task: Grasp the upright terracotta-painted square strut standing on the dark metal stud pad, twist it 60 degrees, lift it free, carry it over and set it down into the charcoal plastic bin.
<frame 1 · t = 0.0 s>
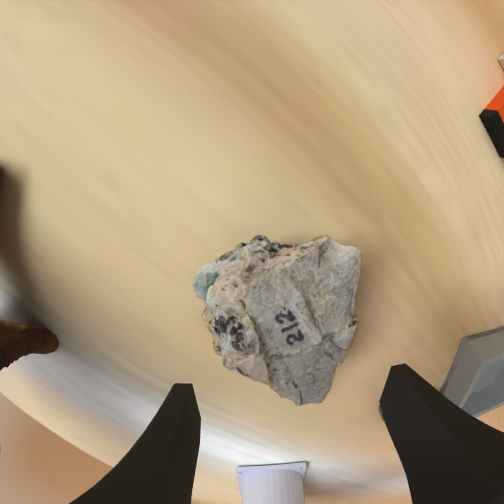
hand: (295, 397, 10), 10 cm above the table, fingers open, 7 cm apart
mineral specimen: (270, 287, 20), on the table
bin: (479, 365, 25), on the table
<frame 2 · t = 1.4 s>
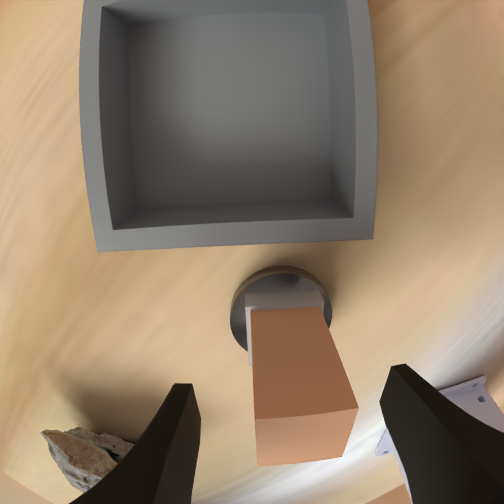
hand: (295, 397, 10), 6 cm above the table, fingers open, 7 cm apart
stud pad: (279, 310, 16), on the table
mineral specimen: (115, 436, 21), on the table
bin: (228, 104, 12), on the table
strut: (281, 321, 15), point 1 cm above the table, touching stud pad
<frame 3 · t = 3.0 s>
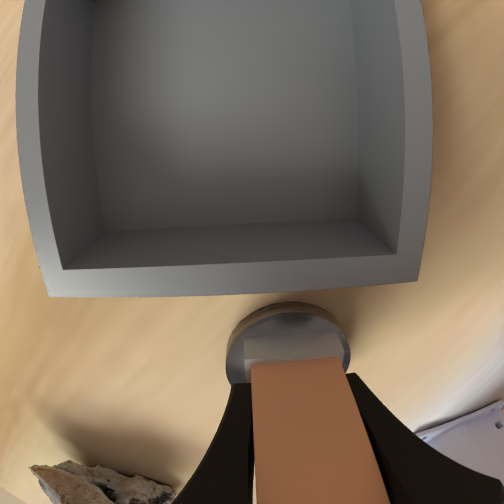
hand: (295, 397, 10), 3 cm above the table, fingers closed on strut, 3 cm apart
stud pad: (286, 352, 12), on the table
mineral specimen: (109, 468, 17), on the table
bin: (221, 92, 9), on the table
strut: (289, 368, 11), point 1 cm above the table, touching gripper, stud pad
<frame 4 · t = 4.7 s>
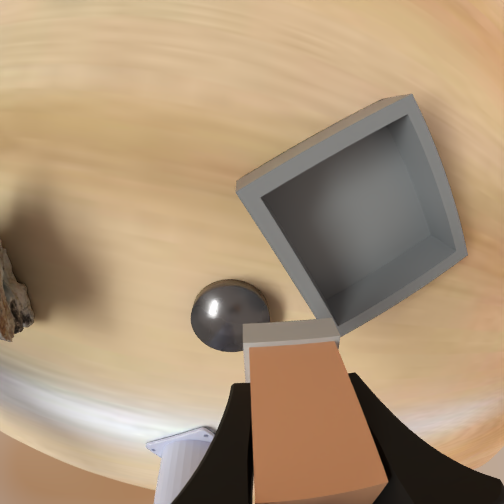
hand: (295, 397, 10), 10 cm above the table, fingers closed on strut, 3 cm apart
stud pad: (230, 313, 20), on the table
mineral specimen: (6, 258, 18), on the table
bin: (352, 209, 18), on the table
strut: (287, 355, 12), point 8 cm above the table, touching gripper
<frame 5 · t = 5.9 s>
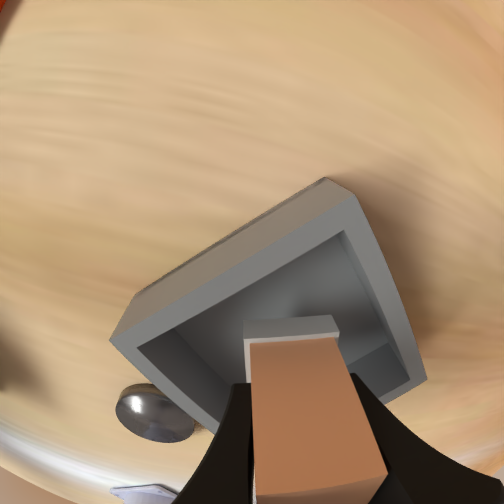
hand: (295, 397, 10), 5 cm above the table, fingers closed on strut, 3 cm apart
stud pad: (156, 410, 17), on the table
bin: (280, 322, 15), on the table
strut: (287, 352, 12), point 3 cm above the table, touching gripper
when the fingers open (4 cm above the table, at t = 6.7 s): strut drops 1 cm, resting on bin.
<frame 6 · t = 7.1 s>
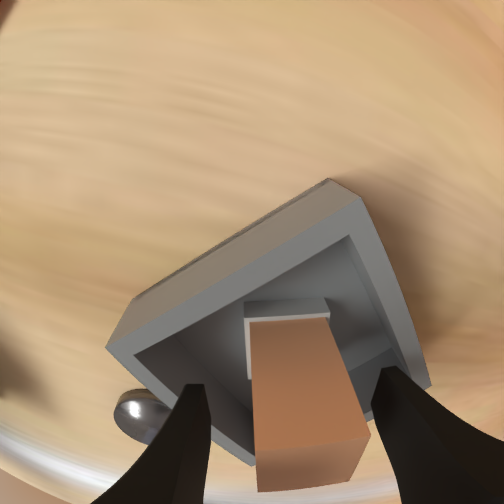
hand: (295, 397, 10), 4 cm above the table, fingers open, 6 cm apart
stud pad: (155, 415, 17), on the table
bin: (281, 327, 14), on the table
strut: (283, 332, 13), point 1 cm above the table, touching bin
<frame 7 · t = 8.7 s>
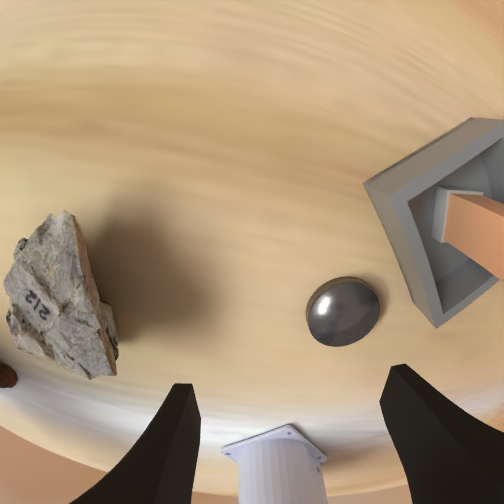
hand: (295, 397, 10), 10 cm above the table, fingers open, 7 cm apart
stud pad: (341, 309, 20), on the table
mineral specimen: (86, 274, 19), on the table
bin: (447, 212, 18), on the table
strut: (453, 211, 17), point 1 cm above the table, touching bin
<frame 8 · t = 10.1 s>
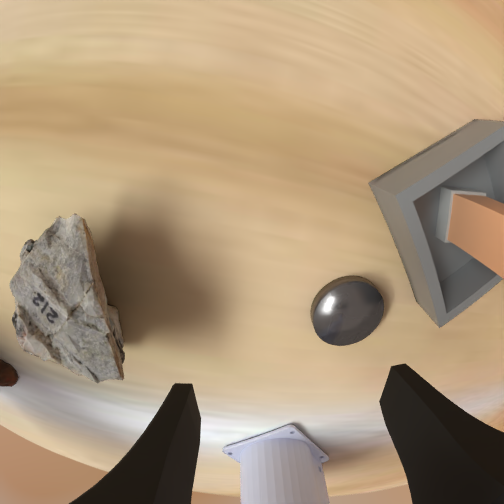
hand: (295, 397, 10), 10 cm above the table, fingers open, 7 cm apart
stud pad: (345, 308, 20), on the table
mineral specimen: (92, 277, 19), on the table
bin: (451, 212, 18), on the table
strut: (456, 212, 17), point 1 cm above the table, touching bin
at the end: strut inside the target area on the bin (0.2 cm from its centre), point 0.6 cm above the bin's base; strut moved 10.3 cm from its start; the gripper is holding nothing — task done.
